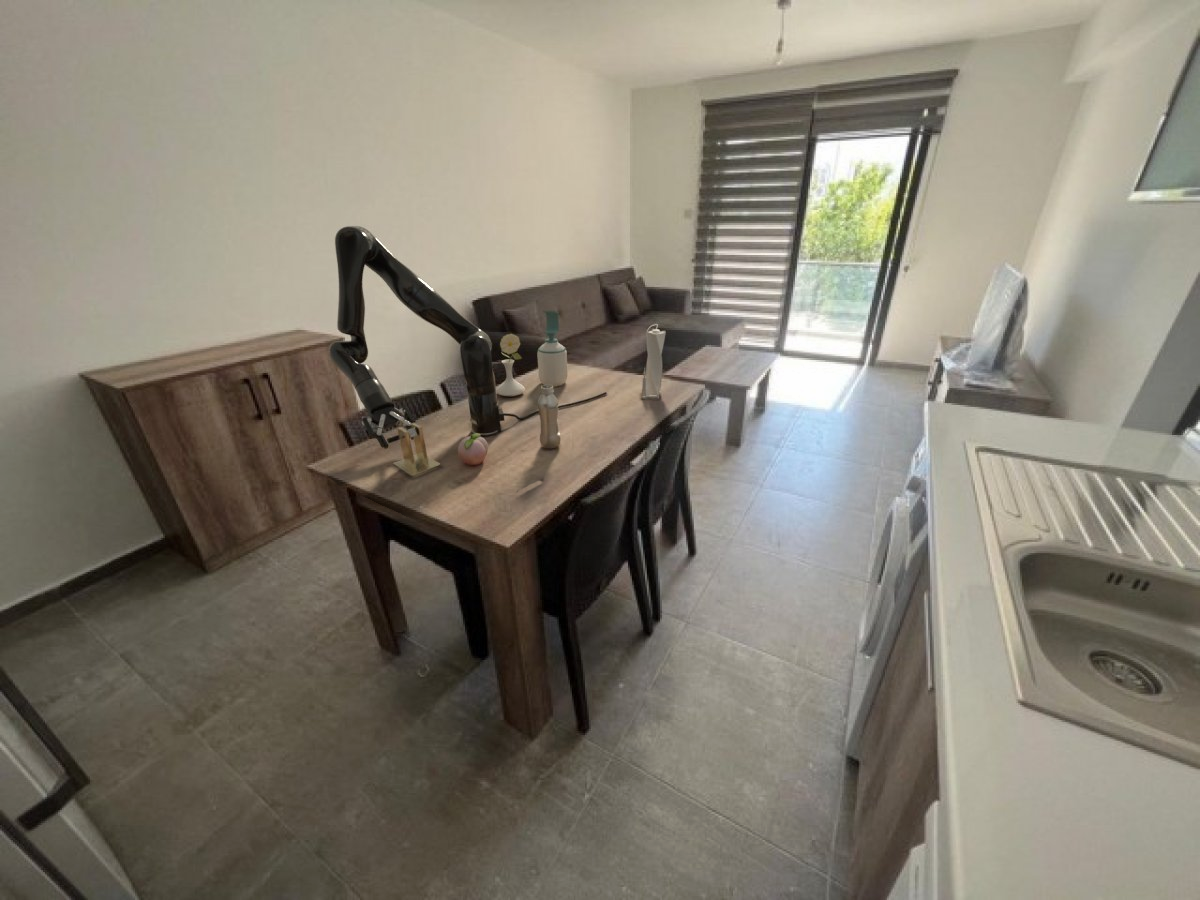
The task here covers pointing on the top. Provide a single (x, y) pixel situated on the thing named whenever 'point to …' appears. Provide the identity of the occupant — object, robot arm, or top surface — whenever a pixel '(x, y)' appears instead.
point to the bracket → (410, 462)
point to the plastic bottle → (548, 418)
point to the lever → (411, 434)
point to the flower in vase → (510, 366)
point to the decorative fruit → (473, 449)
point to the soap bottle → (552, 354)
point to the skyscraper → (653, 364)
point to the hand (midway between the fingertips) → (400, 442)
